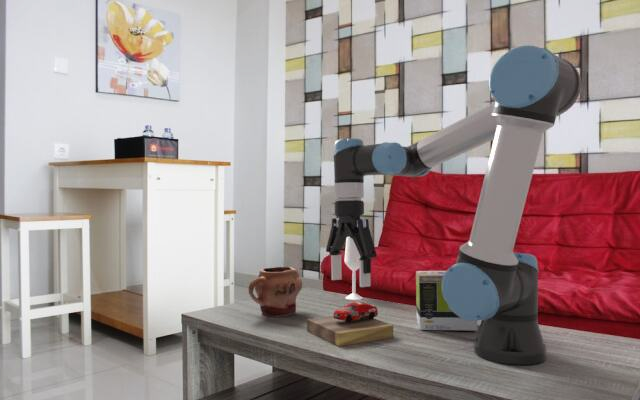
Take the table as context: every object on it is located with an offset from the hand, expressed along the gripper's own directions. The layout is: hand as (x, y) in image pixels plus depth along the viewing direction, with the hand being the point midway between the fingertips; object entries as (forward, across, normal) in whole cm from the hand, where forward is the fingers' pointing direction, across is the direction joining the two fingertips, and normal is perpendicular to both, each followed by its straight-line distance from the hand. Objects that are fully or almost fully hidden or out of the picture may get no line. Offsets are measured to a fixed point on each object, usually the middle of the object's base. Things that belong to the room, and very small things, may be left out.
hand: (350, 283), depth 131 cm
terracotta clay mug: (+13, +29, +8) cm, 33 cm away
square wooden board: (+13, 0, 0) cm, 13 cm away
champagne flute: (+13, +39, -26) cm, 49 cm away
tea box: (+14, -6, -27) cm, 31 cm away
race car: (+12, 0, +1) cm, 12 cm away
